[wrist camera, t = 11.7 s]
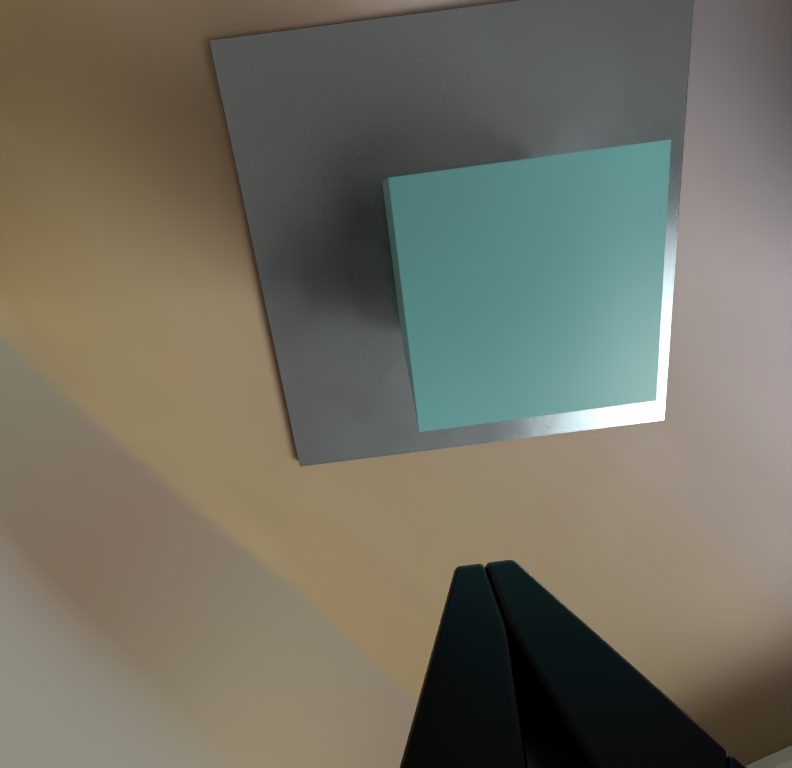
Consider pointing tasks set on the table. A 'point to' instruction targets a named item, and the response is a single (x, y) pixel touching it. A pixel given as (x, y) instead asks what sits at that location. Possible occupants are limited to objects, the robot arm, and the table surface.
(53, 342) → the table surface
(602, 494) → the table surface
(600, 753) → the robot arm
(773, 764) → the butter dish
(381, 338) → the thin grey square plate
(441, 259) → the teal tilted cuboid
